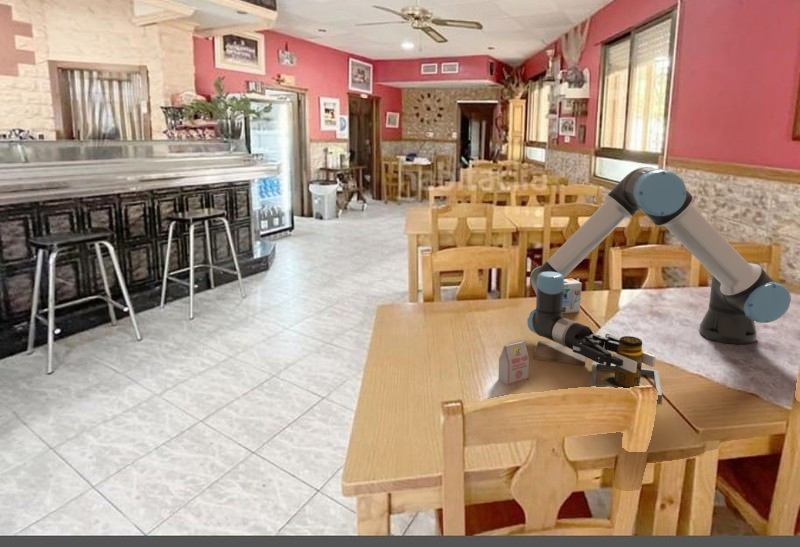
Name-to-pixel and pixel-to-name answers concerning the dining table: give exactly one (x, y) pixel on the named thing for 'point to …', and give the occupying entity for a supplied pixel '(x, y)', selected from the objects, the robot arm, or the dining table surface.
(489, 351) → the dining table surface
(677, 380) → the dining table surface
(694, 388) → the dining table surface
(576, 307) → the light bulb box
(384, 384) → the dining table surface
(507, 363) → the white milk carton
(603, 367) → the square collar
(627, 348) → the yellow cylindrical jar
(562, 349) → the walnut board
